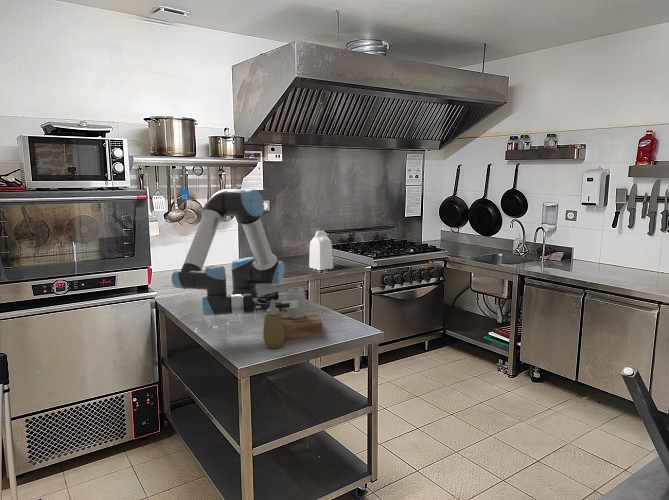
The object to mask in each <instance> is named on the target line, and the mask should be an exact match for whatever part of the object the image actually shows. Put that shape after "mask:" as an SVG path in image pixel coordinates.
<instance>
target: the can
mask: <svg viewBox="0 0 669 500" xmlns="http://www.w3.org/2000/svg"><path fill="white" fill-rule="evenodd" d="M286 293H287V300H286V301H298V308H288V309H286V310H287V311H286V312H288V317H289V318H290V319H302V318H304V317H305V316H306V310H307V305H306V292H305V290H304V288H303V287H300V286H299V287H298V286H297V287H289V288H288V291H287V292H286Z"/></svg>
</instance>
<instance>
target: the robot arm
mask: <svg viewBox="0 0 669 500" xmlns="http://www.w3.org/2000/svg"><path fill="white" fill-rule="evenodd" d="M264 204H265V202H264V197H263V196H262V194H261V193H260V191H259V190H257V189H254V188H253V189H252V188H244V189H242V188H241V189H231V188H229V189H228V188H227V189H220V190H219V191H217V192H215V193H214V194H212V195H211V197H209V198H208V200H207V201H206V203H205V204H204V205H203V207H202V210H201V212H200V216H201V218H200V222H199V224H198V227H197V229H196V231H195V235H194V236H193V239H192V242H191V245H190V247H189V249H188V251H187V254H186V257H185V259H184V263H183V264H182V267H181V269H180V268H179V269H175V270H174V271H172V272H173V273H172V275H171V283H172V285H173V287H175V289H176V288H177V289H183V290H204V291H205V290H206V296H203V297H202V300H201V301H202V306H201V307H202V308H201V309H202V313H203V315H205V316H221V315H236V316H237V315H238V314H242V313H245V314H246V313H247V314H248V313H251V314H252V313H253V312H254V308H255V311H267V309H269V308H270V302H271V300H272V299H273V300H274V302H275V305H276V308H278V309H279V312H283V311H282V310H284V309H285V310H287V309H288V308H298V301H287V292H281V293H279V291H275V292H270V293H269V292H268V293H264V294H259V292H258V288H257V285H265V286H266V285H269V286H274V285H275V286H278V285H280V284H281V283H282V282H283V280H284V275H285V269H286V267H285V263H284V261H282V260H279V259H278V258H277V256H276V254H273V251H272V250H271V246H270V243H269V241H268V238H267V235H266V232H265V229H264V226H263V222H262V220H261V218H262V215H263V213H264V210H265V205H264ZM226 217H235V220H236V222H237V223H238V224H239V225H241V226H242V228H243V229H242V230H243V231H244V234H245V237H246V239H247V242H248V245H249V247H250V249H251V252H252V255H253V256H248V257H242V258H237V259H234V260H233V261H232V262H231V278H232V279H231V281H232V291H231V294H228V293H227V292H228V291H227V290H228V289H227V274H226V268H225V266H224V265H219V264H215V265H214V264H213V265H208V266H206V267H205V269H204V270H203V267H204V265H205V262H206V259H207V256H208V253H209V252H210V249H211V245H212V244H213V240H214V238H215V235H216V232H217V230H218V228H219V226H220V225H219V224H221V223H222V222H223V221H224V218H226ZM277 300H278V301H277ZM279 301H281V302H279Z"/></svg>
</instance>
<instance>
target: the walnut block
mask: <svg viewBox="0 0 669 500" xmlns="http://www.w3.org/2000/svg"><path fill="white" fill-rule="evenodd" d="M279 314H281V315H282V320H283V327H284V334H285V338H284V341H288V340H297V339H298V340H299V339H310V338H311V339H312V338H323V336H324V335H323V321H322V319H321V317H320V315H319V313H318V311H317V310H316V309H308V310H307V309H306V316H305V317H304V318H302V319H290V318H289V317H288V312H287V311H279Z"/></svg>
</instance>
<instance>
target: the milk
mask: <svg viewBox="0 0 669 500" xmlns="http://www.w3.org/2000/svg"><path fill="white" fill-rule="evenodd" d="M332 244H333V243H332V240H331V239H330V238H329V237H328V236H327V234H326V232H325V230H318V231H315V234H314V236H313V238H312V239H311V240H310V242H309V259H308V261H309V263H308V264H309V265H308V268H309V267H310V268H313V269H317V270H325V269H330V270H333V269H334V260H333V259H334V258H333V245H332ZM332 268H333V269H332ZM325 271H326V270H325Z"/></svg>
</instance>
